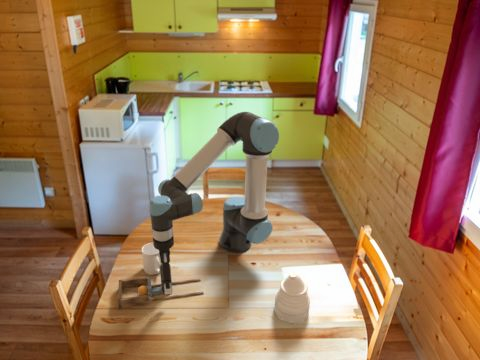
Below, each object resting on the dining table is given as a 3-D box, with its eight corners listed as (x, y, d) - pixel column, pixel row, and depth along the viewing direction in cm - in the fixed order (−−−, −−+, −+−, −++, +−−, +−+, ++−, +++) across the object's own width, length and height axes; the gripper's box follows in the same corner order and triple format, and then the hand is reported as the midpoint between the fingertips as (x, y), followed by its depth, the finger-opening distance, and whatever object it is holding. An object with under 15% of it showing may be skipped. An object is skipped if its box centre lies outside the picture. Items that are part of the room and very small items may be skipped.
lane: (200, 279, 163) (200, 278, 163) (203, 293, 156) (203, 292, 156) (148, 286, 159) (148, 285, 159) (148, 301, 151) (148, 300, 151)
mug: (150, 282, 161) (148, 261, 157) (140, 266, 170) (138, 246, 166) (170, 275, 165) (168, 254, 161) (160, 260, 174) (158, 240, 170)
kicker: (171, 285, 160) (169, 261, 154) (172, 295, 154) (171, 270, 149) (148, 288, 158) (145, 264, 152) (148, 298, 152) (146, 273, 147)
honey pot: (300, 328, 141) (304, 288, 133) (268, 313, 147) (270, 275, 139) (314, 306, 151) (318, 268, 143) (283, 293, 157) (286, 256, 149)
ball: (139, 282, 154) (136, 290, 156) (139, 289, 151) (136, 297, 152) (149, 284, 156) (146, 292, 157) (149, 291, 152) (146, 299, 153)
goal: (148, 284, 160) (147, 276, 159) (149, 304, 150) (148, 296, 148) (120, 288, 158) (118, 280, 156) (118, 309, 147) (117, 301, 146)
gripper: (151, 219, 156) (155, 263, 165) (154, 257, 134) (159, 305, 143) (170, 217, 157) (174, 261, 166) (176, 254, 135) (179, 302, 145)
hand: (167, 281), depth 155 cm, fingers open, 13 cm apart
